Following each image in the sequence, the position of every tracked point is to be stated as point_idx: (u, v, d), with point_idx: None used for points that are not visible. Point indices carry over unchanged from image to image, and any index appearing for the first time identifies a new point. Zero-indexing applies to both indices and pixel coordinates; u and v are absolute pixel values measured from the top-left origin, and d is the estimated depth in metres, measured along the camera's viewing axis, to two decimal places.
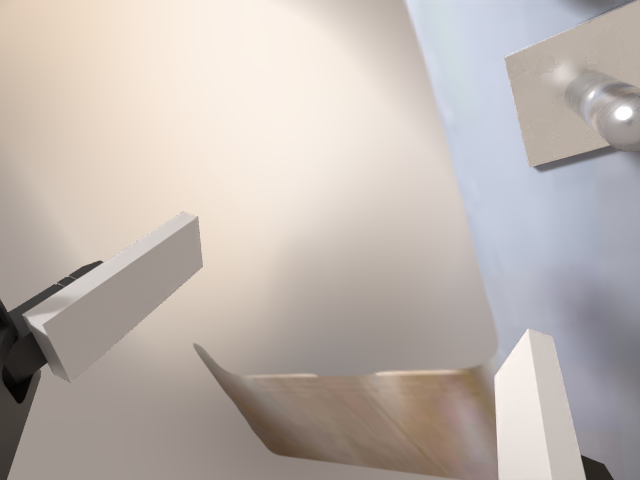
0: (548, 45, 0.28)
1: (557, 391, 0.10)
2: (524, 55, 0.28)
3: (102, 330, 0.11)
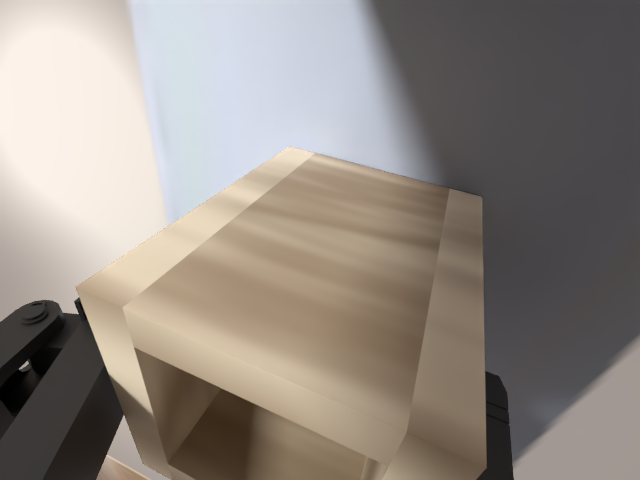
0: None
1: None
2: None
3: None
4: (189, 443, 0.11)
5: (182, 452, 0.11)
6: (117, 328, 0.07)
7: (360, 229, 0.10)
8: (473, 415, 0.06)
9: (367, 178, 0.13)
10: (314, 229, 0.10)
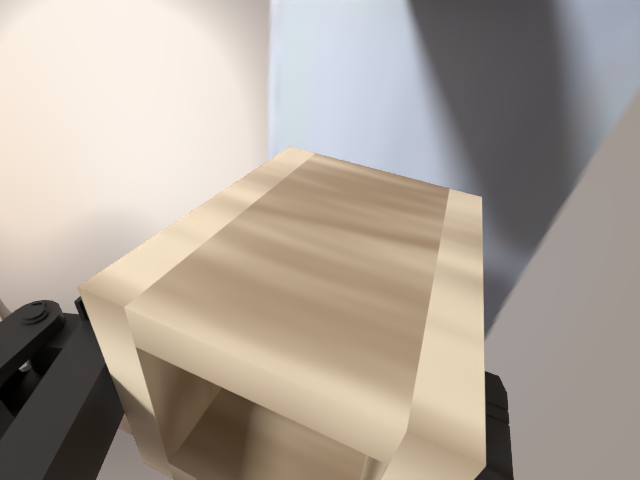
0: None
1: None
2: None
3: None
4: (190, 442, 0.11)
5: (183, 451, 0.11)
6: (119, 328, 0.07)
7: (360, 229, 0.10)
8: (472, 414, 0.06)
9: (367, 178, 0.13)
10: (315, 229, 0.10)
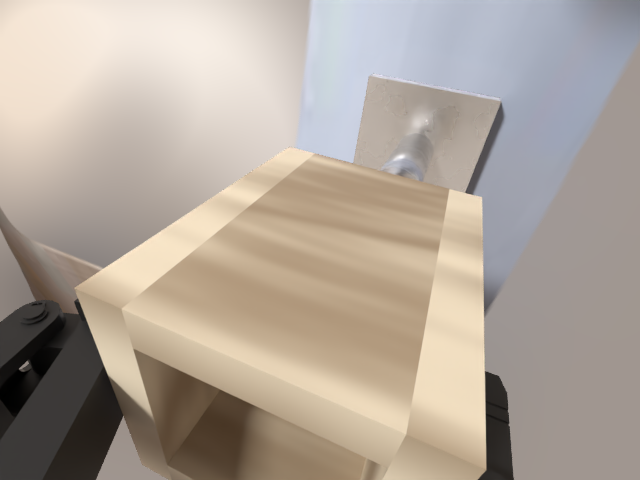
0: (405, 89, 0.27)
1: None
2: (384, 85, 0.27)
3: None
4: (188, 444, 0.11)
5: (181, 453, 0.11)
6: (117, 329, 0.07)
7: (360, 230, 0.10)
8: (473, 417, 0.06)
9: (367, 179, 0.13)
10: (313, 230, 0.10)
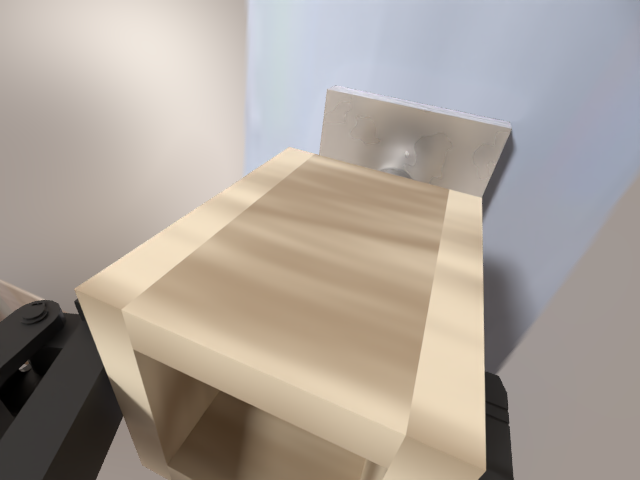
0: (377, 108, 0.19)
1: None
2: (348, 102, 0.20)
3: None
4: (188, 444, 0.11)
5: (181, 453, 0.11)
6: (116, 330, 0.07)
7: (360, 230, 0.10)
8: (472, 418, 0.06)
9: (367, 179, 0.13)
10: (313, 230, 0.10)
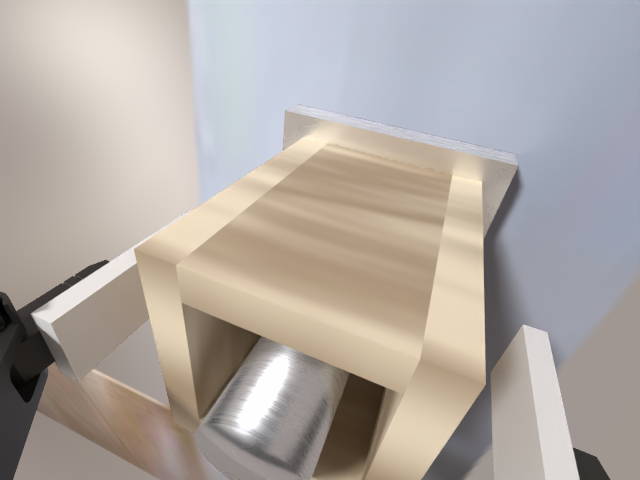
0: (347, 135, 0.15)
1: (551, 385, 0.10)
2: (312, 127, 0.16)
3: (109, 329, 0.11)
4: None
5: None
6: (168, 286, 0.08)
7: (372, 207, 0.11)
8: (474, 349, 0.07)
9: (376, 165, 0.14)
10: (332, 207, 0.11)
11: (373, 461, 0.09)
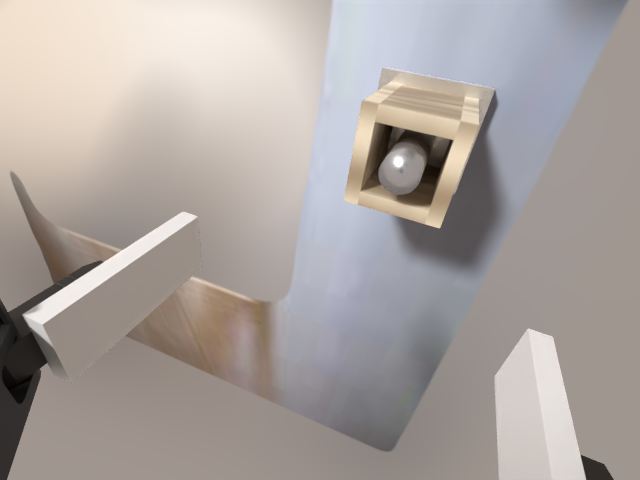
0: (413, 79, 0.32)
1: (557, 391, 0.10)
2: (395, 76, 0.32)
3: (102, 330, 0.11)
4: (364, 188, 0.29)
5: (363, 189, 0.28)
6: (371, 115, 0.25)
7: (434, 100, 0.28)
8: (475, 123, 0.23)
9: (429, 91, 0.31)
10: (418, 99, 0.27)
11: (439, 181, 0.25)
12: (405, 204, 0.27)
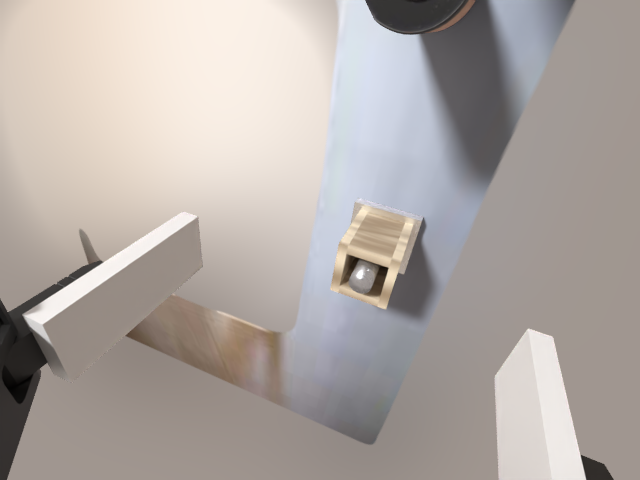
0: (374, 210, 0.51)
1: (557, 391, 0.10)
2: (363, 207, 0.51)
3: (102, 330, 0.11)
4: (342, 283, 0.48)
5: (341, 284, 0.48)
6: (344, 250, 0.44)
7: (382, 233, 0.47)
8: (400, 259, 0.43)
9: (383, 220, 0.50)
10: (373, 233, 0.47)
11: (383, 286, 0.45)
12: (365, 295, 0.47)
